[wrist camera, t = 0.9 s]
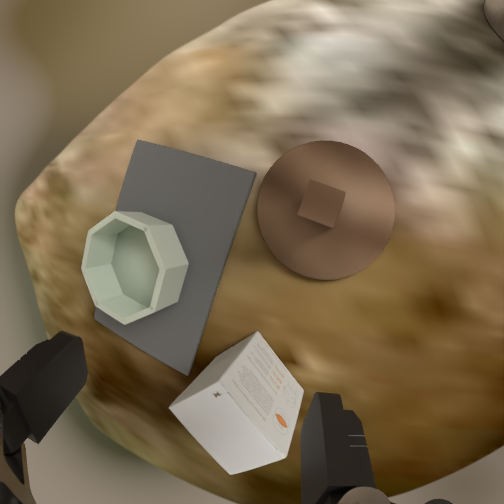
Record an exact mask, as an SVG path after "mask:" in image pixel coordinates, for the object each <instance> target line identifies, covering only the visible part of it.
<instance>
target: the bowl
mask: <svg viewBox="0 0 504 504" xmlns="http://www.w3.org/2000/svg"><path fill="white" fill-rule="evenodd" d="M118 233H119V234H118ZM111 263H112V264H111ZM188 265H189V263H188V260H187V258H186V256H185V253H184V251H183V249H182V246H181V244H180V241H179V239H178V237H177V234H176V232H175V229H174V227H173V225H172V224H169V223H167V222H164V221H162V220H159V219H157V218H155V217H152V216H150V215H147V214H145V213H142V212H125V211H114V212H113V213H112V214H110V215H109V216H107V217H106V218H105V219H103V220H102V221H101V222H99V223H98V224H97V225H95V226H94V227H93V228H91V229H90V230H89V231H88V235H87V240H86V245H85V250H84V256H83V261H82V267H81V269H82V272H83V275H84V278H85V281H86V283H87V286H88V289H89V291H90V294H91V296H92V299H93V301H94V304H95V306H96V307H98V308H99V309H101V310H102V311H104V312H105V313H107V314H108V315H110V316H111V317H113V318H114V319H116V320H118V321H119V322H121V323H122V324H124V325H126V324H128V323H130V322H133V321H135V320H138V319H140V318H142V317H145V316H147V315H149V314H152V313H154V312H156V311H159V310H161V309H163V308H165V307H167V306H169V305H172V304H174V303H176V302H178V299H179V296H180V292H181V289H182V285H183V282H184V279H185V275H186V272H187V268H188ZM147 307H148V308H147Z"/></svg>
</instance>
